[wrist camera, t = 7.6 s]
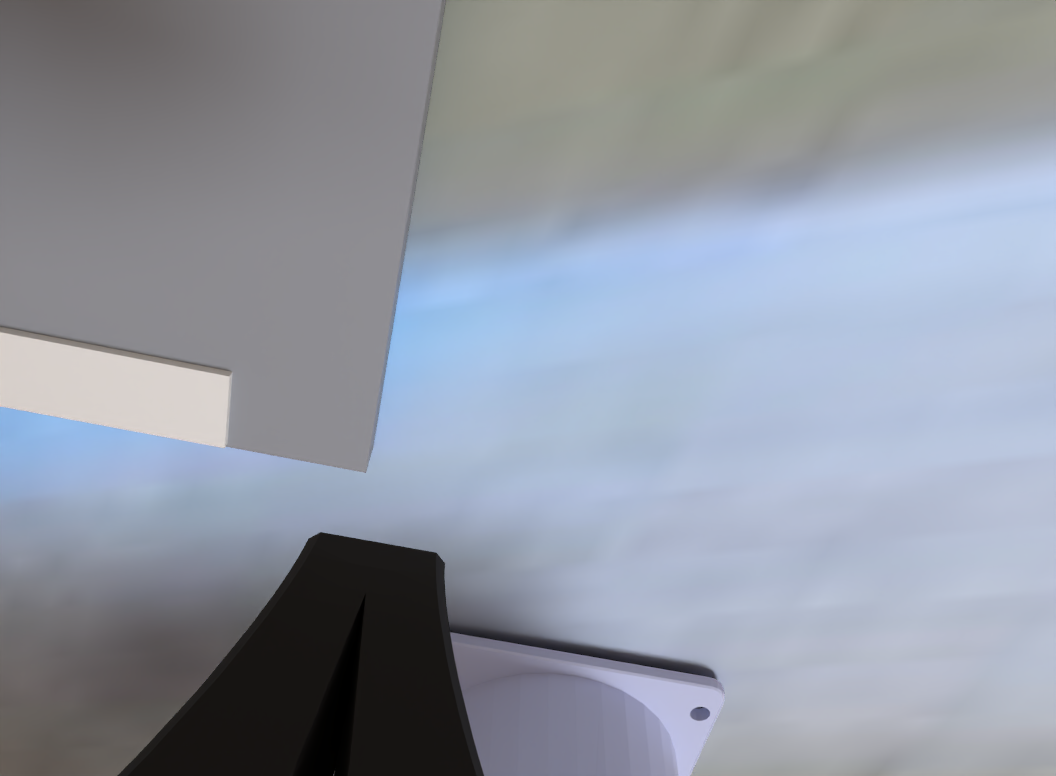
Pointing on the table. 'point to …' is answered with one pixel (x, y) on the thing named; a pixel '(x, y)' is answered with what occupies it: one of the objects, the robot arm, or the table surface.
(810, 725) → the table surface
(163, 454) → the table surface
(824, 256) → the table surface
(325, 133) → the gauge board
